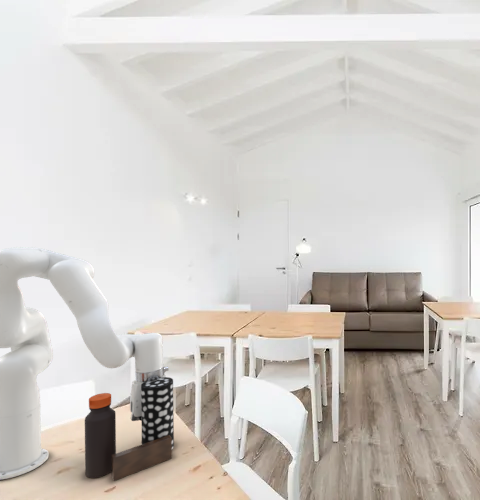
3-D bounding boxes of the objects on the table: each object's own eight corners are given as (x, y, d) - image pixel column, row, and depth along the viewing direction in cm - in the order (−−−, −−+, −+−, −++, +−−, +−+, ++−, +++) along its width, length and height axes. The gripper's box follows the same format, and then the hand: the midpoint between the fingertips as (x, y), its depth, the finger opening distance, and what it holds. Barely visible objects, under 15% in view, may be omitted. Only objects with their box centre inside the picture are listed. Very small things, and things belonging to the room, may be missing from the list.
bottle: (113, 474, 93) (112, 399, 93) (81, 481, 91) (80, 404, 90) (118, 460, 99) (117, 389, 99) (89, 466, 97) (88, 393, 97)
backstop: (113, 481, 91) (113, 458, 90) (111, 477, 92) (111, 454, 92) (171, 458, 100) (171, 437, 100) (169, 455, 102) (169, 434, 102)
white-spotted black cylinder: (166, 457, 101) (165, 387, 100) (135, 458, 100) (135, 388, 100) (178, 441, 109) (177, 376, 109) (150, 442, 109) (149, 377, 108)
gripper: (171, 365, 116) (173, 420, 116) (118, 378, 106) (120, 439, 106) (179, 371, 111) (181, 429, 111) (124, 385, 100) (126, 449, 101)
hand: (151, 433), depth 109 cm, fingers closed
